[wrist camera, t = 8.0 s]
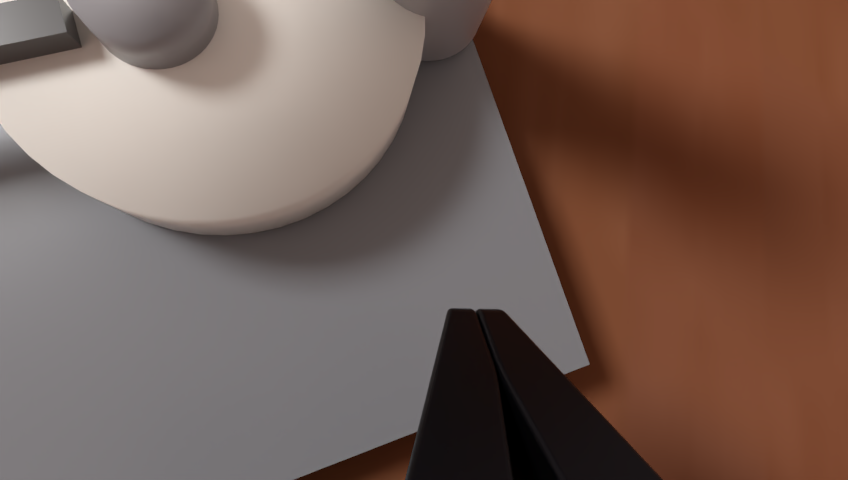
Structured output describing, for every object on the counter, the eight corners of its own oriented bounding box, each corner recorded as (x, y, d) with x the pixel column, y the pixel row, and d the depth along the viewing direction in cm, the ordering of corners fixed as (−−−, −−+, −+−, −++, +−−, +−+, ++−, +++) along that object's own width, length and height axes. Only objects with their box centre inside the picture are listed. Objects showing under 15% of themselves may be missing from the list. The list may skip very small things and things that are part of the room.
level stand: (565, 360, 15) (679, 381, 10) (-79, 607, 12) (-382, 815, 7) (381, -158, 16) (398, -371, 11) (-238, -44, 14) (-588, -263, 8)
